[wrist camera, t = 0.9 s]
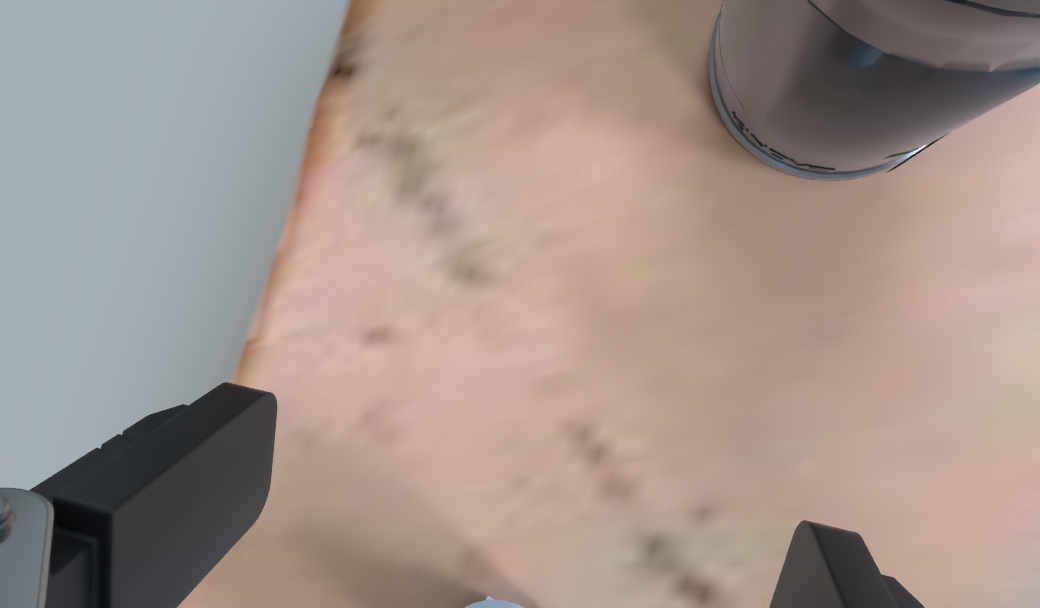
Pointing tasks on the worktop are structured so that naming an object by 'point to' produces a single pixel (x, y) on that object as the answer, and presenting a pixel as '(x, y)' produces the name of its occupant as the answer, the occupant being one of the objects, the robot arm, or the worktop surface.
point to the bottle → (493, 604)
